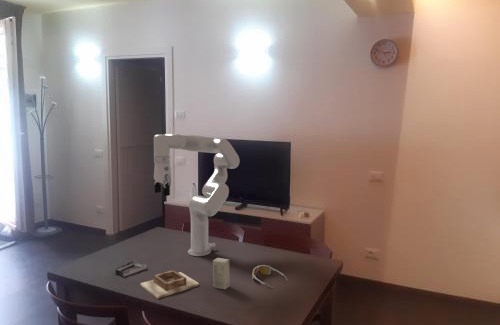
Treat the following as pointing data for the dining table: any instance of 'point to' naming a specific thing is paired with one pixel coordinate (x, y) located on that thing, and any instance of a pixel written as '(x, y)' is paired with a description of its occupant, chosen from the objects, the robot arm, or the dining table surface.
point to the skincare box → (221, 273)
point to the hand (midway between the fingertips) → (162, 194)
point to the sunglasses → (263, 272)
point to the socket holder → (168, 284)
